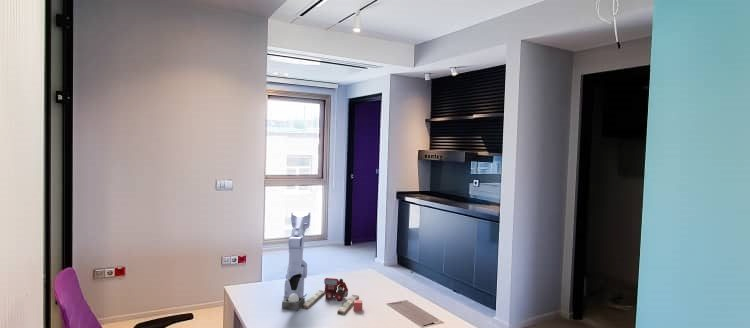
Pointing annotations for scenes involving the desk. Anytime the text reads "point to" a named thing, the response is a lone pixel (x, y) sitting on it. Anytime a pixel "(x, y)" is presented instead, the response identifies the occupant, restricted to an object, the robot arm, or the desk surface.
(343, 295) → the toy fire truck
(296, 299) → the dome button
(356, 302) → the red die
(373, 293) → the desk surface
